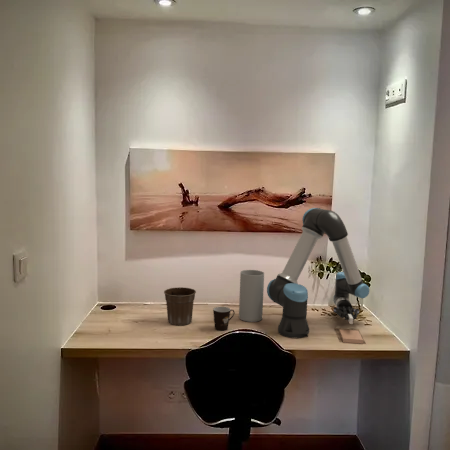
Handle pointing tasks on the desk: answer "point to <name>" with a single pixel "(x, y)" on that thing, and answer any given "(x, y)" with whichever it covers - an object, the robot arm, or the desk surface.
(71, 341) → the desk surface
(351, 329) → the board
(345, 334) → the picture frame
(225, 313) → the coffee mug
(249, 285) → the cylinder vase
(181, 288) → the plant pot
